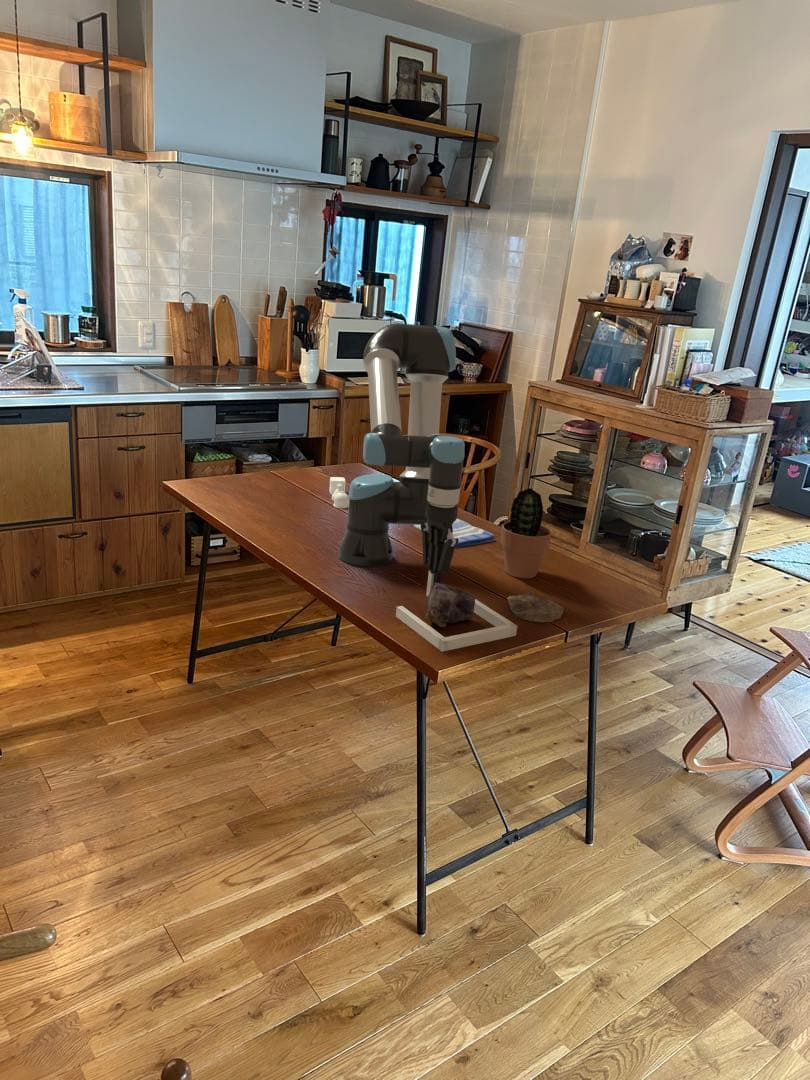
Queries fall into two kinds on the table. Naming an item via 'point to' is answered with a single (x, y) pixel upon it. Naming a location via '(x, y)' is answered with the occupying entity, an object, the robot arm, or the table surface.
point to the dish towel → (468, 534)
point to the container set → (338, 492)
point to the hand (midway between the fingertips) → (432, 595)
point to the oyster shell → (534, 608)
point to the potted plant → (525, 536)
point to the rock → (449, 605)
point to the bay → (467, 639)
